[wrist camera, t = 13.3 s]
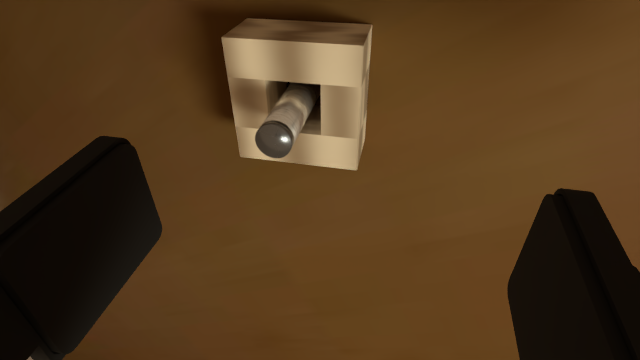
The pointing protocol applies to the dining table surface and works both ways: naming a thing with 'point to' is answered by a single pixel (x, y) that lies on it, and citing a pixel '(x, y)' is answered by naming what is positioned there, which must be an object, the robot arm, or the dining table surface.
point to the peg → (287, 119)
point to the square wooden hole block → (301, 67)
